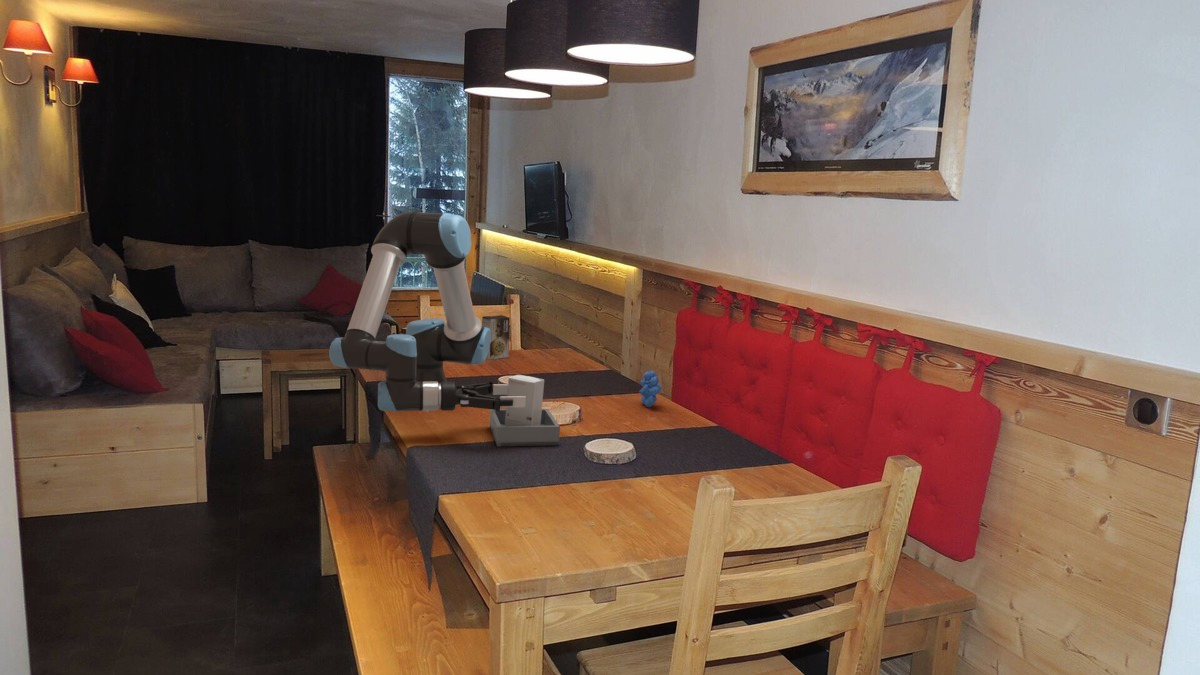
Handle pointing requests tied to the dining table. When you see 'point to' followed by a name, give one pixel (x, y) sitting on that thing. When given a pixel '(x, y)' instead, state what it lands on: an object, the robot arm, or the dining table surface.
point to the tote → (524, 431)
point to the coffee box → (497, 335)
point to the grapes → (650, 388)
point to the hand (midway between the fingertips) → (521, 395)
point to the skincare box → (533, 404)
